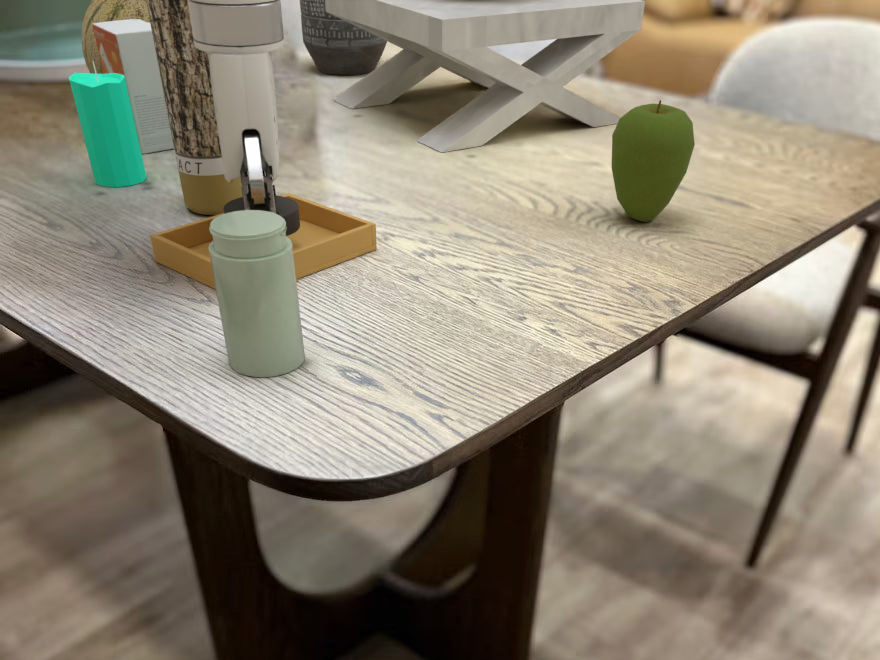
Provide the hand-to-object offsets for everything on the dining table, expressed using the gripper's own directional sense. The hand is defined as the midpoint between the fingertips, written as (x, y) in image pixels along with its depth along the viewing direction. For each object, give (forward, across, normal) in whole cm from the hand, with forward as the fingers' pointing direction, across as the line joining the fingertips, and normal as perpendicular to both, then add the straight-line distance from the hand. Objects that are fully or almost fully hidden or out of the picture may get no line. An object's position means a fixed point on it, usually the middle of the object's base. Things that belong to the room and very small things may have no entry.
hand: (264, 241), depth 82 cm
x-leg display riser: (+1, -52, +33) cm, 62 cm away
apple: (+1, -4, +41) cm, 41 cm away
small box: (+2, -41, -13) cm, 43 cm away
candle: (+2, -27, -16) cm, 31 cm away
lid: (-3, 0, 0) cm, 3 cm away
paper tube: (+2, -15, -5) cm, 16 cm away
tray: (+1, 0, 0) cm, 1 cm away
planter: (+1, -83, +17) cm, 84 cm away
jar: (+1, +22, -1) cm, 22 cm away
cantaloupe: (+2, -60, -15) cm, 62 cm away
